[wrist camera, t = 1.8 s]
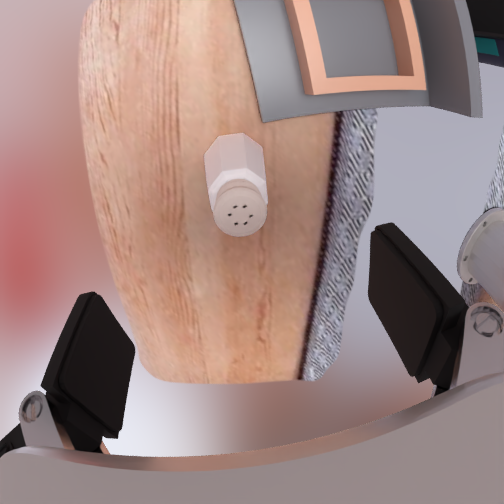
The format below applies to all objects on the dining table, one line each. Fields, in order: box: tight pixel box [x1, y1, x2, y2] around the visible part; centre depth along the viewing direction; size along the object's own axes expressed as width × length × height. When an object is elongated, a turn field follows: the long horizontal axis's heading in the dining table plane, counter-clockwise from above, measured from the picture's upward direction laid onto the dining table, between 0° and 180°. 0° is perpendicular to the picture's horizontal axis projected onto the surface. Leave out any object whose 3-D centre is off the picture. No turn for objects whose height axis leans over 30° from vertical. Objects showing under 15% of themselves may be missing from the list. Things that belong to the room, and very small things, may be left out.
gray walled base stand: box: [233, 0, 483, 123], centre depth 15 cm, size 18×14×7 cm
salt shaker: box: [204, 133, 268, 237], centre depth 19 cm, size 5×5×11 cm
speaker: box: [466, 0, 504, 67], centre depth 13 cm, size 8×6×10 cm
